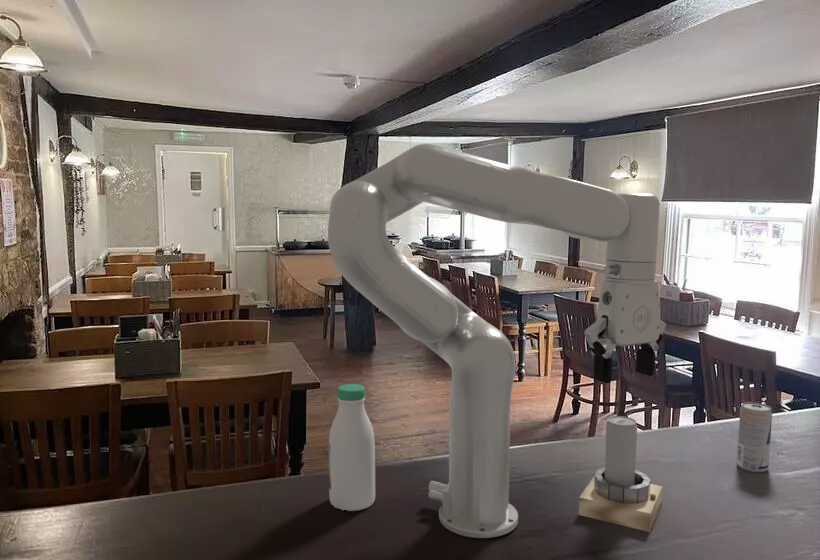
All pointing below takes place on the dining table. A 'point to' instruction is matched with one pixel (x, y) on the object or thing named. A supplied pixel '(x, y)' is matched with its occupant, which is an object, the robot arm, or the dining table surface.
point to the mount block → (621, 508)
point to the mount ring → (623, 488)
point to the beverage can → (620, 450)
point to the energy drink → (754, 437)
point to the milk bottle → (351, 452)
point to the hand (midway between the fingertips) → (623, 377)
